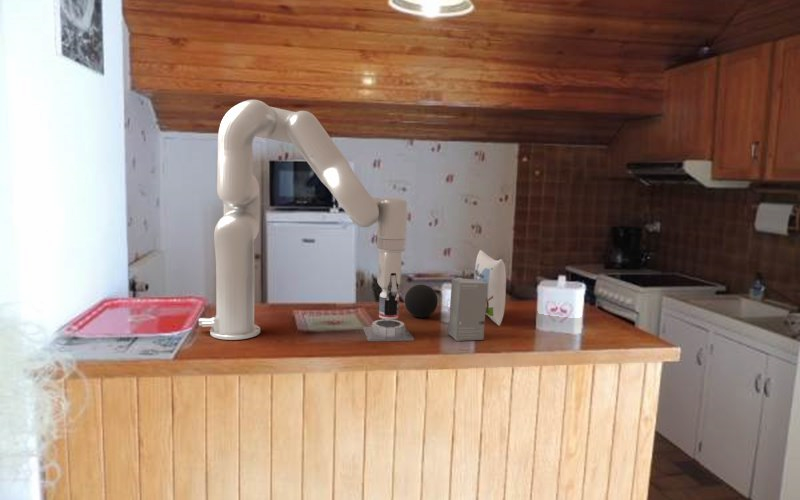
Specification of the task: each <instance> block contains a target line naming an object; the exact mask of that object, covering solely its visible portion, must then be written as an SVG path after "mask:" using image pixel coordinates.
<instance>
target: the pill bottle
mask: <svg viewBox="0 0 800 500" xmlns="http://www.w3.org/2000/svg"><path fill="white" fill-rule="evenodd" d="M388 288H391V286H388ZM382 290H383V292H382ZM389 292H391V291H389ZM385 300H386V288H384V289H382V288H381V292H380V294H379V303H378V304H379V308H378V317H379V318H380V319H381V320H382V319H391V320H398V318H399V312H400V311H399V307H400V306H399V305H400V294H399V293H398V292H397V314H396V315H385V314H384V311H385Z"/></svg>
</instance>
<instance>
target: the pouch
mask: <svg viewBox="0 0 800 500" xmlns="http://www.w3.org/2000/svg"><path fill="white" fill-rule="evenodd" d="M473 274H474V276H473V279H479V280H481V281H484V282H486V283H488V284H487V299H486V312H485V316H488V317H489V318H490V319H491V320H492V321H493V322H494V323H495V324H496V325H498V327H500V326H501V324H502V321H503V318H504V315H505V307H506V298H507V297H506V296H507V295H506V292H507V290H506V289H507V273H506V264H505V262H504V260H503V259H502V258H500V259H498V260H496V259H494V258H493V257H491V256H489V255H488V254H487V253H485V251H483V250H482V249H479V252H478V253H477V256H476V261H475V266H474V273H473Z"/></svg>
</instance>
